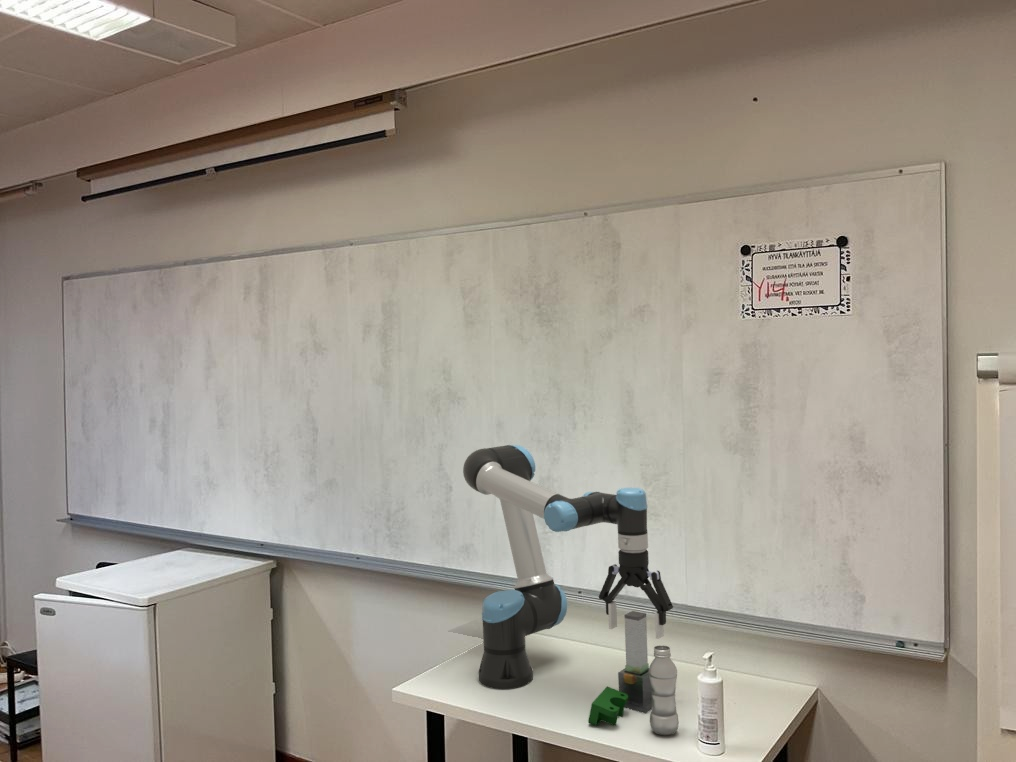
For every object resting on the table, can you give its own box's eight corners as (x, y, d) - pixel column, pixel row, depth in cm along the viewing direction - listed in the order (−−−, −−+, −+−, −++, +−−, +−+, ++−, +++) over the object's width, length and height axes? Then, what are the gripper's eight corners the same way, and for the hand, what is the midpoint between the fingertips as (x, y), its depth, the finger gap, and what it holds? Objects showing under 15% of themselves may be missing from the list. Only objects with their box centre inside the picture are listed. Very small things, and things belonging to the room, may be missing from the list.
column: (625, 672, 211) (623, 615, 210) (634, 667, 214) (632, 610, 214) (640, 676, 208) (638, 617, 207) (648, 670, 211) (646, 613, 211)
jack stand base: (611, 704, 210) (610, 671, 210) (631, 691, 218) (630, 659, 218) (645, 713, 204) (644, 680, 204) (665, 699, 212) (664, 667, 212)
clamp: (610, 744, 198) (612, 718, 194) (587, 734, 200) (589, 708, 196) (628, 708, 207) (630, 682, 203) (606, 699, 210) (607, 673, 205)
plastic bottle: (651, 725, 197) (648, 642, 197) (680, 727, 196) (677, 644, 195) (648, 737, 191) (645, 651, 191) (677, 740, 189) (675, 653, 189)
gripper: (584, 546, 215) (586, 627, 216) (670, 558, 199) (673, 645, 200) (599, 541, 221) (602, 620, 221) (684, 552, 205) (687, 636, 206)
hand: (635, 632), depth 211 cm, fingers open, 13 cm apart
